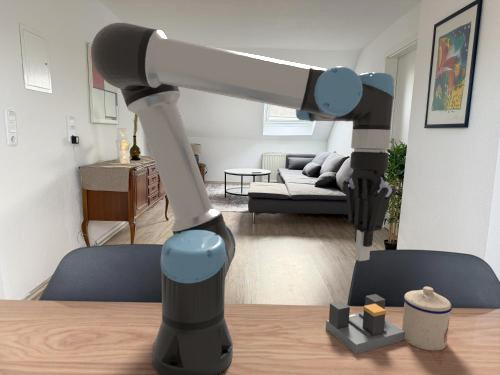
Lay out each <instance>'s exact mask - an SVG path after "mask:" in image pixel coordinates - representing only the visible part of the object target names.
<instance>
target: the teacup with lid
mask: <svg viewBox="0 0 500 375" xmlns="http://www.w3.org/2000/svg"><path fill="white" fill-rule="evenodd" d="M403 301H404V303H403V304H404V306H403V314H402V315H403V316H402V326H401V327H402V328H401V329H402V330H403V331H405V336H404V341H406V342H407V343H408V344H410V345H412V346H414V347H416V348H418V349H422V350H424V351H425V350H426V351H432V352H434V351H441V350H444V349H445V348H446V347H447V342H448V335H449V334H448V333H449V324H450V315H451V311H452V310H453V307H452V304H451V302H450V301H449V299H447V298H446V297H445V296H442V295H440V294H438V293H436V292H435V291H434V288H433V287H431V286H424V287H423V288H422V289H419V290H418V289H417V290H410V291H407V292H406V293H405V294H404V296H403Z"/></svg>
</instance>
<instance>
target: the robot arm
mask: <svg viewBox="0 0 500 375" xmlns="http://www.w3.org/2000/svg"><path fill="white" fill-rule="evenodd" d="M90 57H91V62H92V65H93V67H94V69H95V70H96V72H97V74H98V76H99V77H100V78H102V80H104V82H106V83H107V84H109V85H110V86H112V87H115V88H117V89H119V90H120V91H121V95H122V97H123V100H124V103H125V106H126V107H127V110H128V111H129V112H131V113H133V114H135V115H136V116H137V117H138V120H139V123H140V125H141V128H142V131H143V133H144V136H145V139H146V142H147V145H148V148H149V151H150V153H151V156H152V158H153V161H154V164H155V167H156V171H157V172H158V175H159V178H160V181H161V183H162V186H163V189H164V191H165V195H166V197H167V200H168V203H169V205H170V209H171V211H172V214H173V216H174V223H173V225H172V227H171V232H172V235H171V236H169V237H168V238H167V239H166V240H165V241H164V243H163V244H162V247H161V256H160V261H159V262H160V263H159V264H160V269H161V270H160V272H161V273H160V274H161V275H160V276H161V277H160V278H161V323H160V326H159V328H158V332H157V335H156V338H155V341H154V344H153V347H152V364H153V368H154V369H155V370H156V372H157V373H158V374H159V375H220V374H221V373H223V372H224V371H225V370H227V368H228V367H229V366H230V364H231V362H232V359H233V356H234V355H233V354H234V352H233V351H234V345H233V340H232V337H231V333H230V330H229V328H228V325H227V322H226V319H225V289H226V288H225V283H226V277H227V274H228V272H229V269H230V267H231V265H232V262H233V260H234V258H235V255H236V254H235V253H236V239H235V236H234V233H233V231H232V230H231V228H230V227H229V226H228V225H226V222H225V220H224V217H223V214H222V211H221V210H220V209H217V208H215V207H214V206H213V205H212V202H211V199H210V197H209V194H208V191H207V190H208V189H207V188H206V185H205V182H204V179H203V176H202V174H201V171H200V168H199V165H198V162H197V158H196V156H195V154H194V151H193V148H192V145H191V141H190V139H189V137H188V133H187V131H186V128H185V125H184V122H183V119H182V116H181V113H180V111H179V108H178V105H177V103H178V101H179V99H180V97H181V92H180V89H179V88H183V89H184V88H185V89H189V90H194V91H200V92H203V93H209V94H215V95H220V96H225V97H230V98H236V99H241V100H244V101H245V100H246V101H250V102H255V103H260V104H267V105H271V106H277V107H280V108H281V107H282V108H286V109H291V110H292V109H293V110H295V115H296V116H295V117H296V118H297V120H299V121H308V122H311V123H312V122H352V131H351V144H350V147H351V149H353V151H351V153H350V162H349V163H350V165H349V167H350V169H352V173H351V178H350V179H348V180H344V181H343V184H342V185H343V187H344V190H345V197H346V207H347V218H348V219H347V220H348V224H349V225H352V226H353V228H354V229H355V232H354V242H355V253H354V254H355V255H354V260H356V261H358V262H364V261H368V260H370V256H371V247H372V246H373V240H374V239H373V238H374V232H377V231H381V230H382V229H383V225H384V221H385V217H386V214H387V212H388V207H389V204H390V200H391V198H392V196H393V194H394V193H395V192H396V188H395V187H393V186H389V185H388V183H387V182H386V180H387V179H386V175H385V172H386V171H387V170H388V167H389V158H390V157H389V156H390V155H389V152H387V151H388V150H390V143H391V142H390V139H391V126H392V117H393V116H392V115H393V108H394V106H393V105H394V100H395V82H394V81H395V80H394V79H395V78H394V77H393V75H391V74H389V73H386V72H376V71H374V72H365V73H360V74H358V73H356V71H354V70H353V69H352V68H349V67H347V66H341V65H339V66H335V67H331V68H323V67H317V66H311V65H308V64H307V65H306V64H302V63H298V62H297V63H296V62H291V61H285V60H282V59H281V60H280V59H276V58H270V57H266V56H261V55H257V54H256V55H255V54H249V53H246V52H245V53H244V52H240V51H236V50H235V51H234V50H229V49H225V48H219V47H215V46H209V45H206V44H205V45H203V44H200V43H199V44H198V43H193V42H190V41H184V40H180V39H173V38H168V37H167V36H166V35H165V33H164V31H162V30H160V29H155V28H149V27H146V26H141V25H138V24H137V25H136V24H133V23H128V22H114V23H109V24H107V25H106V26H103V27H102V28H101V29H99V31H98V32H97V33H96V35H95V36H94V38H93V40H92V43H91V48H90Z"/></svg>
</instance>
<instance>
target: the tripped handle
mask: <svg viewBox="0 0 500 375" xmlns="http://www.w3.org/2000/svg"><path fill="white" fill-rule="evenodd" d="M363 312H364V314H363V329H364V330H366V331H367V332H369V333H370V334H371V336H376V335H380V334H384V323H385V319H386V312H387V310H386V308H385V309H383V308H381V307H380V306H378V305H376V304H371V305H366V306H365V305H363Z"/></svg>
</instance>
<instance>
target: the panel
mask: <svg viewBox="0 0 500 375" xmlns="http://www.w3.org/2000/svg"><path fill="white" fill-rule="evenodd" d="M371 304H376V305H378V306H380V307H381V308H383V309H385V310H386V308H385V306H386V299H385V298H384V297H382V296H381V295H378V294H376V293H374V294H370V295H369V294H368V295H365V301H364V306H366V305H371ZM350 310H351V307H350V305H348V304H346V303H344V302H343V301H342V300H338V301H334V302H330V303H329V314H328V319H325V329H326V330H327V331H328V332H329V333H330V334H332V335H333V336H334V337H335V338H336V339H337V340H339V341H340V342H341V343H342V344H344V346H346V347H347V348H348V349H349V350H350V351H352V353H354V354H355V355H356V354H360V353H364V352H367V351H372V350H374V349H378V348H382V347H385V346H389V345H393V344H397V343H398V342H399V343H401V342H403V341H405V339H404V336H405V331H403V330H402V328H401V327H398V326H397V325H395V324H394V323H392V322H391V321H389V320H387V319H386V318H385V323H384V334H380V335H376V336H371V334H370V333H369V332H367V331H366V330H364V329H363V314H364V311H362V312H358V313H357V312H356V313H353V314H350Z"/></svg>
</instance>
